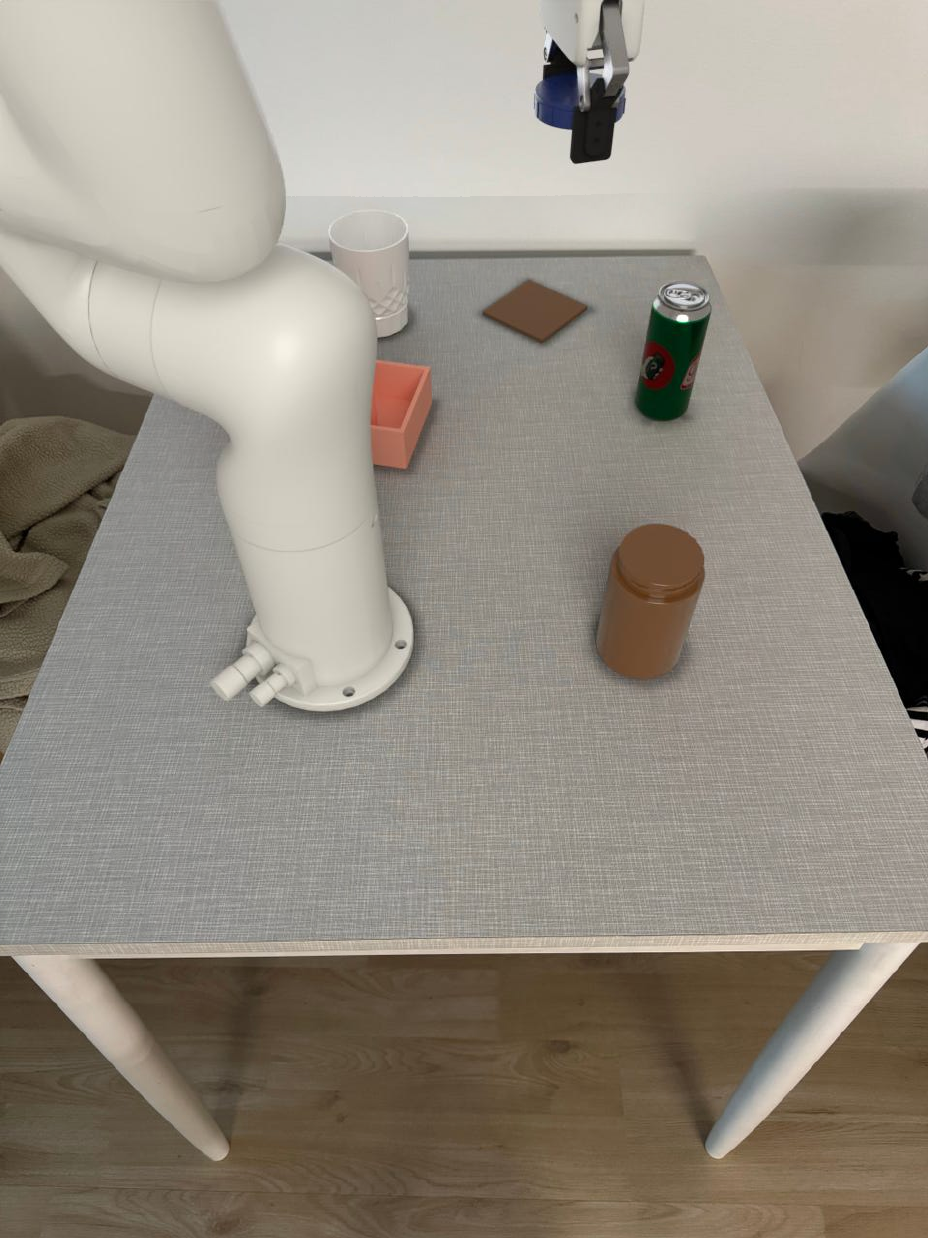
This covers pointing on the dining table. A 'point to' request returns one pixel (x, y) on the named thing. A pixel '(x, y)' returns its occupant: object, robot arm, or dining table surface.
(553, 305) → the pad
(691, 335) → the soda can
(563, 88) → the lid
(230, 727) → the dining table surface
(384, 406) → the salmon pink open box
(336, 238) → the white cup
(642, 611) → the jar
